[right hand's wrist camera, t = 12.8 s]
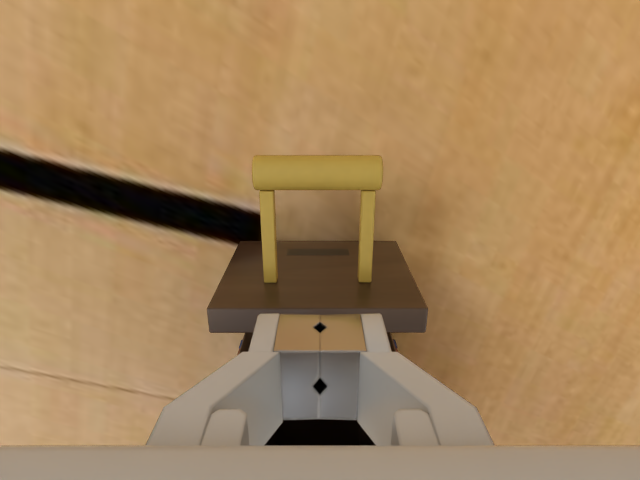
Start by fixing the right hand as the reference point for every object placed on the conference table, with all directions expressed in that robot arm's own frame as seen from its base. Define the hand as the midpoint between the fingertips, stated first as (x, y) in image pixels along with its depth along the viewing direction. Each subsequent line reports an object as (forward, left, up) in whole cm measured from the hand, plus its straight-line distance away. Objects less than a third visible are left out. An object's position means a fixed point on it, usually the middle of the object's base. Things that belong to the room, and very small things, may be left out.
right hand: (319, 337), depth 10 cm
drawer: (+8, -2, -14) cm, 16 cm away
